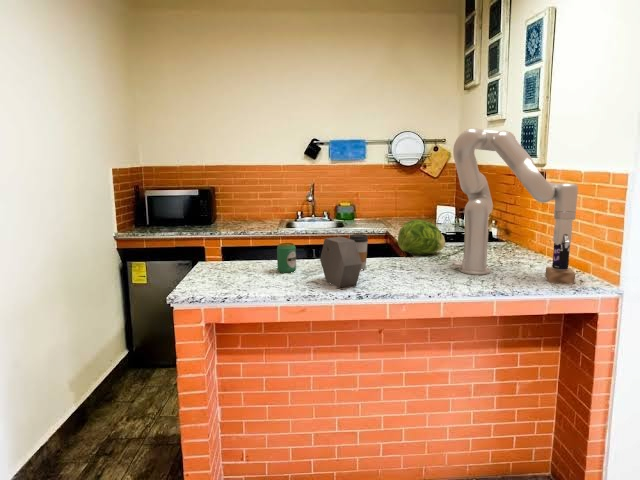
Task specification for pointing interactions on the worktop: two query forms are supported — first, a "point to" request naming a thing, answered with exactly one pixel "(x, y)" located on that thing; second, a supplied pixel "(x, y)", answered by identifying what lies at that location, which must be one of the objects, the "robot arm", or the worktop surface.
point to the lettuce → (420, 238)
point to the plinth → (560, 276)
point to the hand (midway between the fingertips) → (561, 258)
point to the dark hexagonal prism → (340, 261)
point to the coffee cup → (361, 247)
